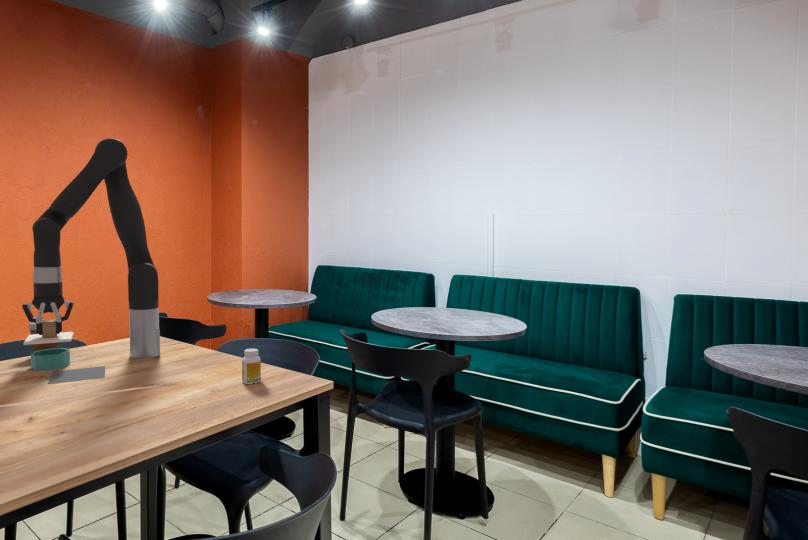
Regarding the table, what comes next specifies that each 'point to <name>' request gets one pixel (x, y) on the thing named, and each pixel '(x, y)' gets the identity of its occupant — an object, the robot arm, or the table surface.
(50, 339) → the lid
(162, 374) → the table surface
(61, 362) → the bowl
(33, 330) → the disposable coffee cup
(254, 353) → the supplement bottle
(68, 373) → the mat
